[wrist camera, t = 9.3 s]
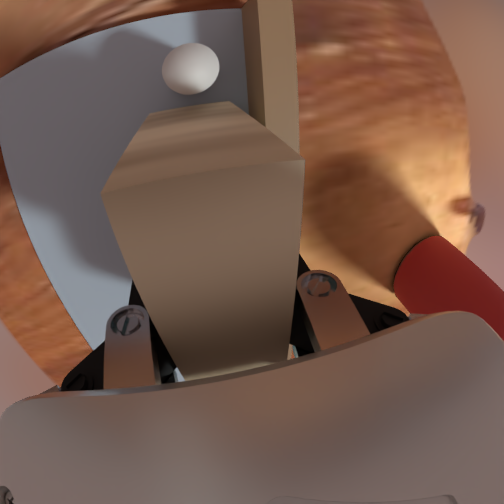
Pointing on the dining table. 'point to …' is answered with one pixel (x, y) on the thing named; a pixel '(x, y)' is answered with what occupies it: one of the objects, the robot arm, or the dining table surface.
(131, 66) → the ledge
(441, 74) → the dining table surface
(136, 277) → the beige tapered block
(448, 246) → the beer can
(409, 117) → the dining table surface
